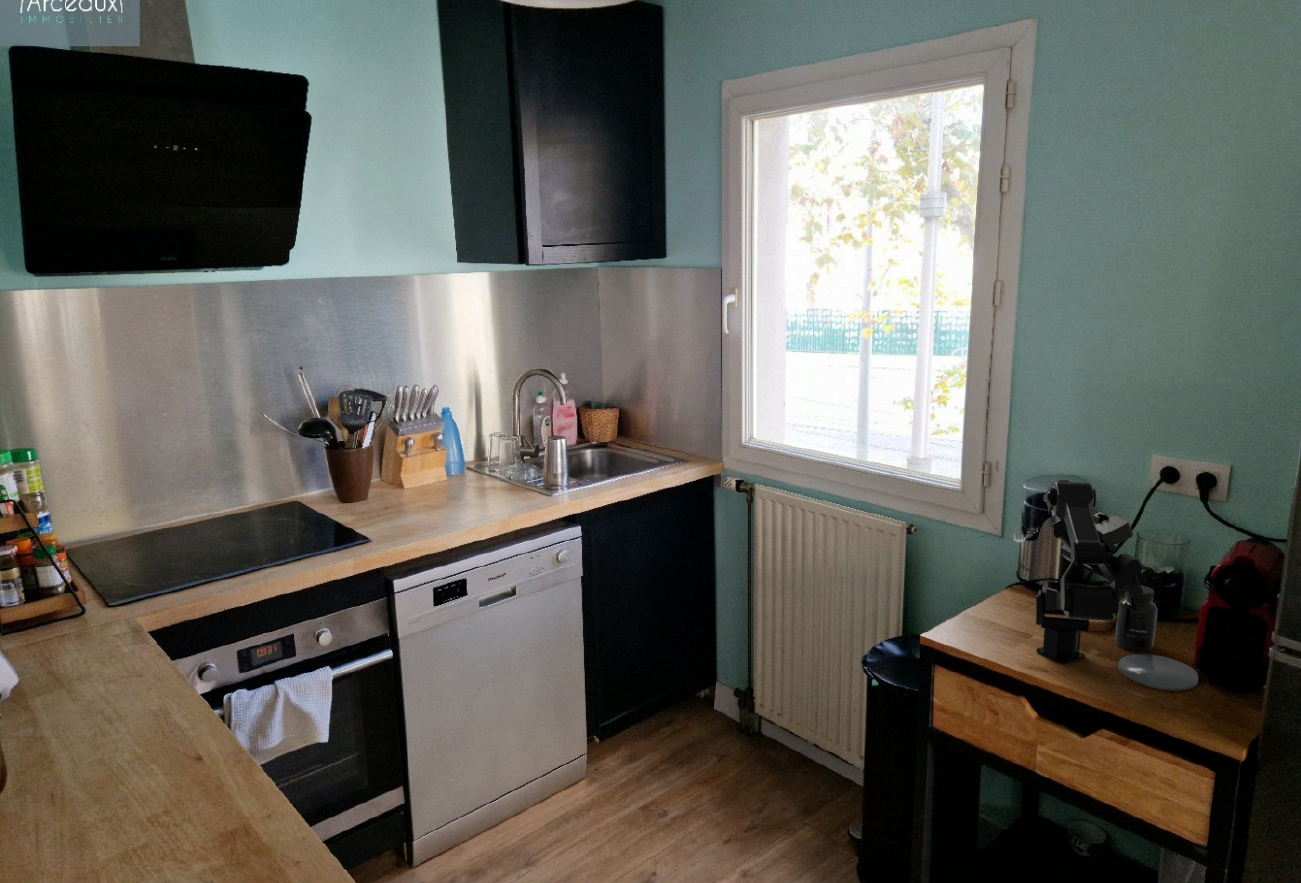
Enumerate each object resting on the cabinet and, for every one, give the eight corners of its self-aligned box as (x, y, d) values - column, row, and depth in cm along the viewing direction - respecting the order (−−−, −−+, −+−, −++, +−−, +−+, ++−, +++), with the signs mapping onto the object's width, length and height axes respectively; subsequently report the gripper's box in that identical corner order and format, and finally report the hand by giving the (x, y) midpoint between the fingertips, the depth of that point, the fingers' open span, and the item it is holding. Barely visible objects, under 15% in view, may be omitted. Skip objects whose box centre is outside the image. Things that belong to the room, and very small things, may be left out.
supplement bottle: (1133, 655, 174) (1138, 597, 172) (1107, 640, 181) (1111, 585, 178) (1161, 649, 176) (1167, 592, 173) (1134, 635, 182) (1139, 580, 180)
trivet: (1167, 697, 158) (1167, 693, 158) (1102, 667, 170) (1103, 663, 169) (1214, 680, 163) (1214, 676, 163) (1148, 652, 175) (1148, 648, 175)
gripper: (1138, 518, 162) (1188, 572, 166) (1078, 493, 181) (1124, 541, 184) (1094, 562, 163) (1145, 615, 167) (1039, 532, 181) (1086, 580, 185)
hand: (1125, 585), depth 175 cm, fingers open, 9 cm apart
